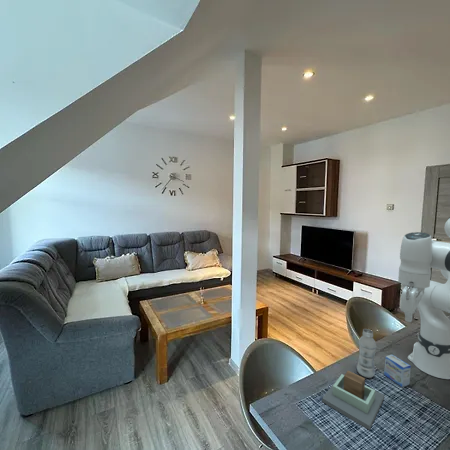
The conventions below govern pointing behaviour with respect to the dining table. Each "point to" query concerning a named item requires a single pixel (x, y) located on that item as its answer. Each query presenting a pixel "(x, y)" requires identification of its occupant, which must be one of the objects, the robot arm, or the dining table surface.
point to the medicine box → (397, 370)
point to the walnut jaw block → (354, 384)
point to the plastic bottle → (366, 354)
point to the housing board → (354, 403)
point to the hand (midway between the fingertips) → (411, 316)
